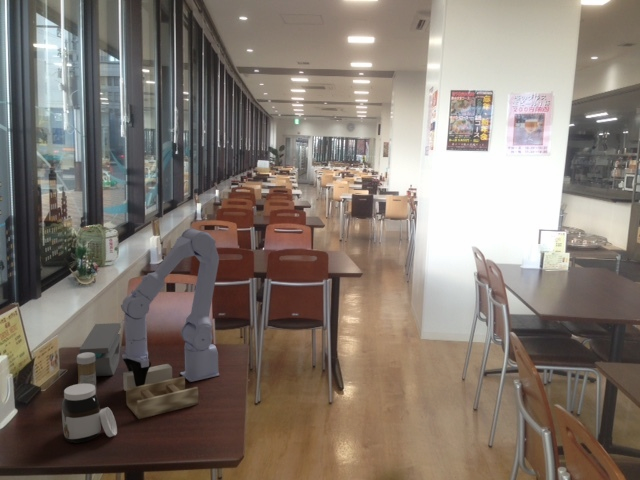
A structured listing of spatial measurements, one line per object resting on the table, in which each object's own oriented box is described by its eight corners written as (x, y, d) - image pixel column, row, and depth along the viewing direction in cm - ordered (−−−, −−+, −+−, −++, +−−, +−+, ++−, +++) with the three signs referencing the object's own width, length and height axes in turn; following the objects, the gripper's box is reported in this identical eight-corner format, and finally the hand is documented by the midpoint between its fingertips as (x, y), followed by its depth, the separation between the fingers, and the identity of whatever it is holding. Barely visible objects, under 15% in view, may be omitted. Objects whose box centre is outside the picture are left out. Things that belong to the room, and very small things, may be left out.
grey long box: (109, 384, 169) (108, 347, 168) (81, 385, 168) (79, 349, 166) (121, 354, 194) (120, 323, 192) (96, 356, 192) (95, 324, 191)
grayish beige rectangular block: (168, 379, 173) (167, 363, 172) (172, 383, 170) (172, 367, 169) (123, 389, 166) (123, 372, 165) (127, 393, 163) (126, 376, 162)
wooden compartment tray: (183, 391, 165) (183, 376, 164) (198, 404, 157) (198, 388, 156) (126, 405, 155) (125, 388, 155) (138, 419, 147) (138, 402, 147)
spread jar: (59, 432, 140) (56, 386, 139) (107, 419, 147) (105, 375, 145) (73, 452, 131) (70, 403, 129) (123, 438, 138) (121, 391, 136)
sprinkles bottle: (82, 399, 159) (79, 351, 157) (99, 399, 159) (97, 351, 157) (76, 406, 154) (74, 357, 152) (94, 406, 155) (92, 357, 153)
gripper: (113, 333, 168) (115, 378, 170) (129, 347, 156) (131, 396, 158) (138, 329, 172) (140, 373, 174) (155, 342, 160) (157, 390, 162)
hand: (137, 384), depth 166 cm, fingers closed on grayish beige rectangular block, 3 cm apart
